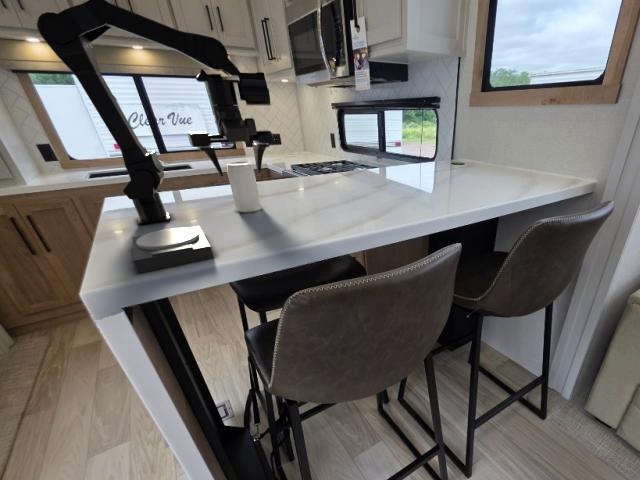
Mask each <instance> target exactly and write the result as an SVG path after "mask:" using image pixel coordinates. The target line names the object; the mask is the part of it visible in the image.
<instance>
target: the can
mask: <svg viewBox="0 0 640 480" xmlns="http://www.w3.org/2000/svg"><path fill="white" fill-rule="evenodd" d="M251 164H252V163H251V162H249V161H234V162H228V163H227V164H226V166H227V169H226V173H227V178H228V181H229V186H230V189H231V193H232V198H233V201H234V205H235V210H236V211H238V212H239V213H242V214H249V213H255V212H259V211H260V210H261V209H262V203H261V198H260V193H259V188H258V183H257V179H256V178H257V177H256V174H255V169H254V168H253V166H252V165H251Z"/></svg>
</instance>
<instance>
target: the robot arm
mask: <svg viewBox="0 0 640 480" xmlns="http://www.w3.org/2000/svg"><path fill="white" fill-rule="evenodd" d="M36 29H37V31H38V33H39V35H40V36H41V38H42V39H43V40H44V42H45V43H46V44H47V45H48V46H49V48H50V49H51V50H52V51H53V52H54V54H55V55H56V56H57V58H58V59H60V61H62V63H63V64H64V65H65V66H66V67H67V68H68V69H69V70H70V71H71V72H72V73H73V74H74V76H75V78H76V80H78V82H79V84H80V85H81V87H82V88H83V90H84V92H85V94H86V96H87V97H88V99H89V100H90V102H91V104H92V105H93V107H94V109H95V111H96V112H97V114H98V115H99V116H100V119H101V120H102V122H103V123H104V126H105V127H106V128H107V130H108V131H109V133H110V135H111V136H112V138H113V140H114V141H115V143H116V145H117V147H118V148H119V150H120V152H121V156H122V160H123V164H124V167H125V169H126V172H127V175H128V176H129V181H128V183H127V185H125V187H124V188H123V190H122V193H123V194H125V196H126V197H127V198H128V199H129V200H132V204H133V206H134V208H135V211H136V213H137V215H138V216H137V222H138V223H137V224H138V225H147V224H153V223H159V222H167V221H170V220H171V218H170V215H169V212H168V211H166V209H165V206H164V203H163V200H162V198H161V195H160V193H159V192H158V191H159V189H160V188H159V186H160V185H161V184H162V182H163V181H164V178H165V173H164V169H165V168H166V167H165V166H164V165H163V164H162V163H161V161H160V159H159V157H158V154H157V152H156V151H155V150H153V151H151V152H149V151H148V150H147V149H146V148H145V147H144V146H143V144H142V143H141V142H140V140H139V138H138V136H137V134H136V133H135V131H134V129H133V127H132V126H131V124H130V122H129V121H128V119H127V117H126V115H125V113H124V112H123V110H122V108H121V107H120V105H119V103H118V101H117V99H116V98H115V96H114V94H113V93H112V91H111V89H110V88H109V85H108V84H107V82H106V80H105V78H104V76H103V75H102V73H101V70H100V66H99V62H98V58H97V55H96V52H95V50H94V47H93V45H92V43H93V42H95V41H96V40H98V39H99V38H101V37H102V36H103V35H105V34H106V33H107V32H108V31H109V30H111V29H117V30H119V31H122V32H125V33H128V34H131V35H133V36H134V37H138V38H141V39H142V40H146V41H149V42H151V43H154V44H157V45H159V46H162V47H165V48H168V49H170V50H173V51H176V52H177V53H180V54H182V55H184V56H186V57H188V58H189V59H191V60H193V61H194V62H195V63H198V64H200V65H202V66H203V67H205V68H207V69H209V70H211V71H213V72H222V73H223V74H225V75H227V76H228V77H229V78H237V79H225V78H224V79H223V77H222V73H208V72H206V71H205V70H204V69H203V68H202V69H200V71H199V74H198V75H197V76H196V77H195V80H196V81H197V82H198V83H205V84H206V86H207V87H206V88H207V91H208V95H209V99H210V103H211V108H212V110H213V115H214V119H215V124H216V128H217V131H218V134H209V132H207V131H189V132H188V133H187V138H188V141H189V144H190V146H191V147H193V148H197V150H199V151H201V152H202V151H203V152H204V153H205V154H206V156H207V157H208V158H209V159H210V161H211V163H212V165H213V166H214V168H215V170H216V171H217V172H218V174H219V176H220V177H224V174H223V170H222V167H221V165H220V161H219V160H218V157H217V154H216V150H215V147H213V146H212V144H217V143H219V144H221V143H232V144H233V143H234V144H236V143H238V142H240V143H241V142H244V143H248V142H253V143H252V149H253V156H254V162H255V167H256V171H257V173H258V174H261V171H262V163H263V157H264V155H265V154H264V153H265V151H266V149H267V148H270V147H271V144H274V143H276V142H275V138H274V134H273V132H272V131H271V130H269V129H257V125H256V121H255V119H254V117H245V118H244V119H243V117H242V114H241V110H240V106H239V102H238V98H237V93H238V97H239V100H240V101H243V102H244V103H245V106H261V107H263V106H264V107H265V106H267V107H268V106H269V107H270V106H271V96H270V89H269V87H268V84H267V83H268V82H267V80H266V75H265V73H264V72H262V71H261V72H259V71H257V72H241V71H240V70H239V68H238V66H236V65H235V64H234V63H233V62H232V61H231V59H230V58H229V54H228V51H227V48H226V47H225V45H224V44H223V42H221V41H220V40H219V39H217V38H215V37H213V36H208V35H203V34H200V33H195V32H188V31H182V30H179V29H176V28H174V27H171V26H168V25H166V24H164V23H161V22H159V21H156V20H154V19H151V18H148V17H146V16H143V15H141V14H139V13H136V12H133V11H131V10H129V9H126V8H123V7H121V6H118V5H117V4H114V3H111V2H109V1H108V0H86V1H85V2H83V3H80V4H77V5H73V6H71V7H68V8H65V9H63V10H62V11H59V12H58V13H57V12H50V11H47V12H43V13H41V14H40V15H39V16H38V18H37V22H36ZM235 84H236V87H237V93H236V87H235Z"/></svg>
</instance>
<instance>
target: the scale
mask: <svg viewBox="0 0 640 480" xmlns="http://www.w3.org/2000/svg"><path fill="white" fill-rule="evenodd" d="M131 241H132V242H131V243H132V262H133V264H134V267H135V268H136V269H135V270H136V271H137V273H138V274H141V273H146V272H151V271H157V270H161V269H166V268H171V267H176V266H181V265H184V264H189V263H190V264H191V263H194V262H199V261H205V260H209V259H213V258H215V256H214V253H213V249H212V246H211V245H210V243H209V241H208V239H207V237H206V236H205V234H204V232H203V230H202V229H201V227H200V225H197V226H191V227H172V228H171V227H170V228H164V229H159V230H156V231H152V232H147V233H146V234H142V235H136V236H132V237H131Z"/></svg>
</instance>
